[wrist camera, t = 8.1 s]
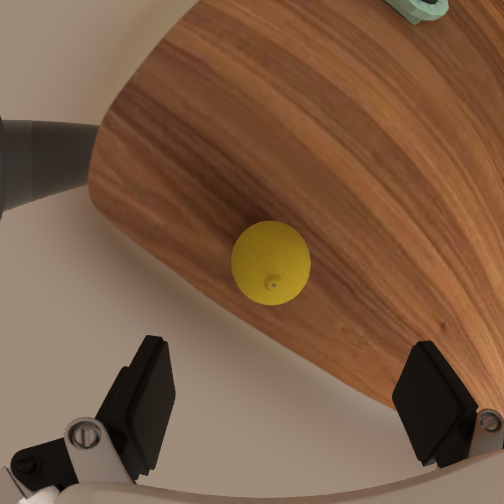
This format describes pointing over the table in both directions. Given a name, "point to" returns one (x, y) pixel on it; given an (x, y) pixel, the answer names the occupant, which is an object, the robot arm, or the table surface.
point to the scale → (419, 9)
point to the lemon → (270, 262)
